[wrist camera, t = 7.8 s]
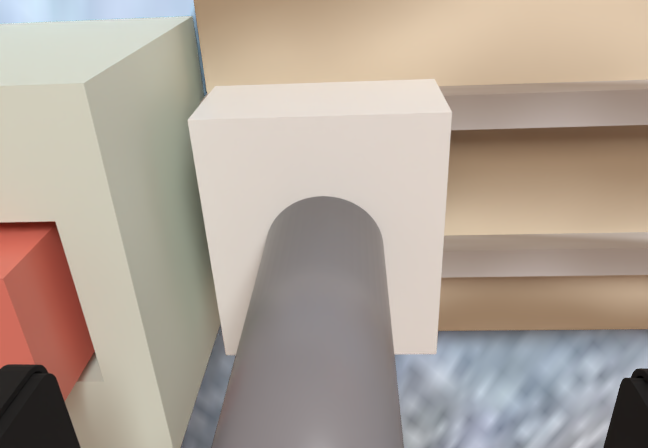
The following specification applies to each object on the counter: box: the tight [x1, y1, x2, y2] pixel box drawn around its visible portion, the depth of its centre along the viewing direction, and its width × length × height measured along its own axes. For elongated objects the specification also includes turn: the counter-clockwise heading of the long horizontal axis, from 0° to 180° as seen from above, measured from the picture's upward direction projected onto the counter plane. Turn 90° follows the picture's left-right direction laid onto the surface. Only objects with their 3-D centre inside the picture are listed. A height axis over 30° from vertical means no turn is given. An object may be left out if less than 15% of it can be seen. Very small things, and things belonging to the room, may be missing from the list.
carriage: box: [188, 79, 452, 448], centre depth 12 cm, size 7×6×12 cm
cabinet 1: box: [0, 16, 221, 448], centre depth 16 cm, size 10×7×8 cm
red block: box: [0, 221, 95, 401], centre depth 13 cm, size 4×4×4 cm
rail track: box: [194, 0, 648, 331], centre depth 18 cm, size 12×25×2 cm, turn 93°
